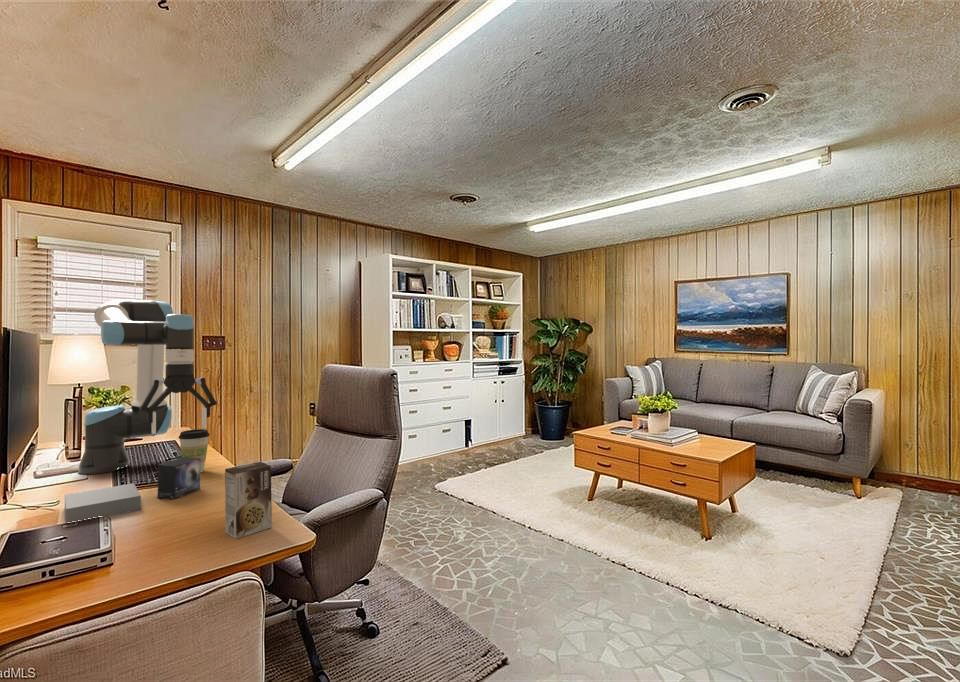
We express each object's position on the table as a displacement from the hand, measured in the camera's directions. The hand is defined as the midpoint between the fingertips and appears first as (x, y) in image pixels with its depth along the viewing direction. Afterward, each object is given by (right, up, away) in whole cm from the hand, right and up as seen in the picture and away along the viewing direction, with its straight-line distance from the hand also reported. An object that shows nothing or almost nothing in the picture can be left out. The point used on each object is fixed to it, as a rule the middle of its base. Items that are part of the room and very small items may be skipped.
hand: (179, 430), depth 147 cm
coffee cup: (-11, -20, +25) cm, 34 cm away
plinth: (-13, -20, -14) cm, 28 cm away
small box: (0, -20, 0) cm, 20 cm away
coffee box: (+36, -20, -29) cm, 51 cm away
